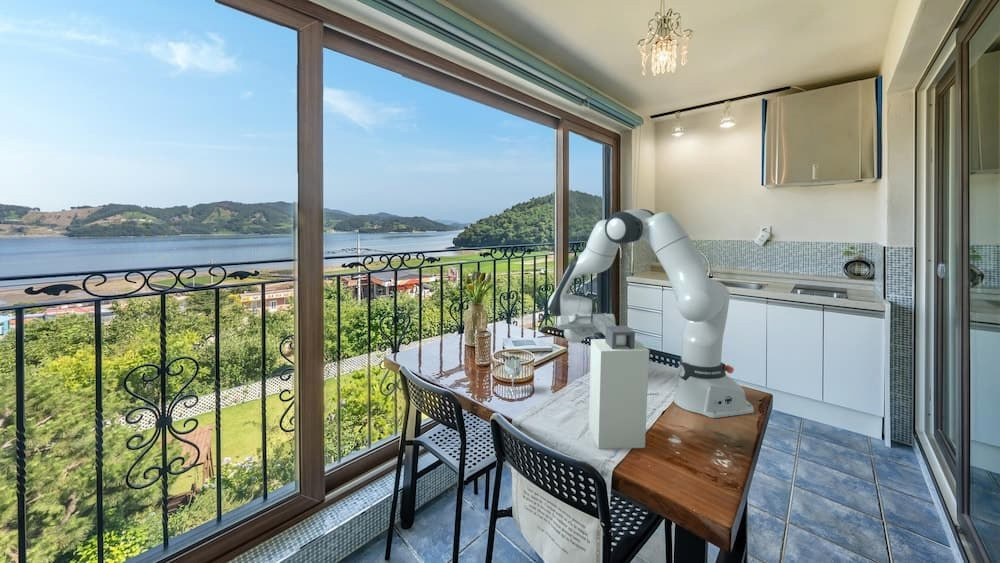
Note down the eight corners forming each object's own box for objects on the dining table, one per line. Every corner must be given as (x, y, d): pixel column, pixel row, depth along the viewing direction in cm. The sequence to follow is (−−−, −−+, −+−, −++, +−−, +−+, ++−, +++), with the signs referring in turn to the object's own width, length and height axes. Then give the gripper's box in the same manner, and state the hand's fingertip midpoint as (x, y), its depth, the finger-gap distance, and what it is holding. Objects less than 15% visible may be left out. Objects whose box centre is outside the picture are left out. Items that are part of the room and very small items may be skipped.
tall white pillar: (631, 427, 111) (635, 323, 107) (644, 447, 102) (650, 333, 97) (588, 428, 111) (591, 323, 107) (598, 448, 101) (601, 334, 97)
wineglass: (519, 396, 133) (519, 361, 131) (503, 394, 134) (502, 360, 132) (522, 388, 138) (522, 355, 136) (506, 387, 139) (505, 355, 138)
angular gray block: (601, 322, 125) (601, 312, 124) (626, 345, 101) (627, 333, 101) (590, 322, 125) (591, 312, 124) (614, 346, 101) (614, 334, 100)
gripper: (552, 318, 146) (558, 308, 133) (607, 316, 147) (618, 305, 134) (554, 335, 144) (560, 326, 131) (609, 332, 145) (621, 324, 132)
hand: (590, 315), depth 132 cm, fingers open, 8 cm apart
